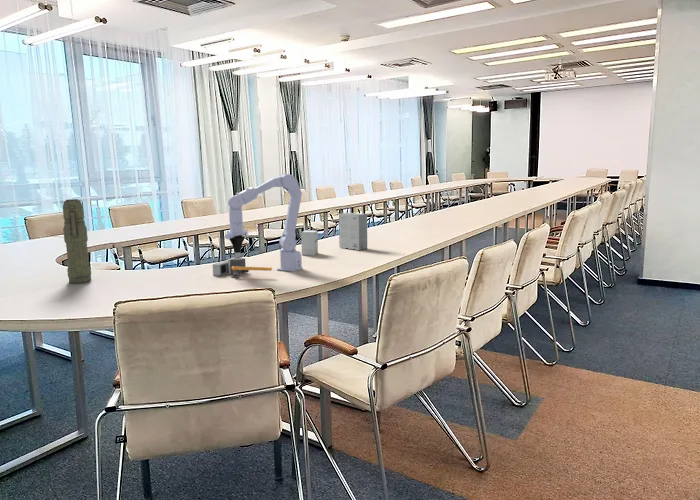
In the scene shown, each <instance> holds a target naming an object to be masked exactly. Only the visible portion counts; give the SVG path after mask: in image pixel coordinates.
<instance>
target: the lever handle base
mask: <svg viewBox="0 0 700 500" xmlns="http://www.w3.org/2000/svg"><path fill="white" fill-rule="evenodd" d="M230 278H232V279H238V278H240V274H238V272H237V270H233V274H232V275H231V276H230Z"/></svg>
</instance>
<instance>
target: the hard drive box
mask: <svg viewBox="0 0 700 500" xmlns="http://www.w3.org/2000/svg"><path fill="white" fill-rule="evenodd" d="M338 235H339V237H338V239H339V244H338V245H339V247H341V248H340V249H345V248H348V249H347V250H353V249H355V250H354V251H362V249H363V250H367V249H368V214H367V213H360V212H359V213H358V212H357V213H356V212H342V213H339V214H338ZM366 248H367V249H366Z"/></svg>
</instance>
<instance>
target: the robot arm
mask: <svg viewBox="0 0 700 500" xmlns="http://www.w3.org/2000/svg"><path fill="white" fill-rule="evenodd" d="M272 188H283V189H284V190H286V192H287V194H289V202H288V206H287V207H288V208H287V213H286V217H285V218H286V220H285V224H284V229H283V231H282V235H281V237H280V238H279V240H278V244H279V245H280V246H279V247H281V248H280V249H279V255H280V267H278V268H276V270H277V271H284V272H285V271H287V272H297V271H300V270H302V269H303V266H302V264H303V262H302V252H300V251H298V250H297V249H296V247H297V241H296V235H297V234H296V230H297V222H298V217H299V211H300V206H301V201H302V195H303V193H302V190H301V188H300V185H299V182H298V179H297V178H296V177H295V176H294V175H292V174H289V173H282V174H280V175H276V176H274V177H272V178H270V179H269V180H267V181H265V182H264V183H262V184H260V185H258V186H256V187H252V186H250V187H248V186H247V187H245V189H244V190H242V191H240V192H236V193H235V195H231V196H230V197H229V198H228V200H227V204H228V206H229V209H228V210H229V213H228V216H229V218H228V219H229V231H228V232H227V233H225V236H224V238H225V240H229V241H230V244H231V245H232V248H233V251H234V253H235V254H240V253H241V250H242V245H243V242H244V241H245V239H246V238H245V235H247V236H248V234H249V233H248V232H249V231H248V230H245V229H244V225H243V224H244V223H243V222H244V221H243V211H242V207H243V205H247V204H249V203H251V202H253V201H255V200H257V199H258V198H259V197H258V196H259V195H261V194H262V193H264V192H266V191H268V190H270V189H272Z"/></svg>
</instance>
